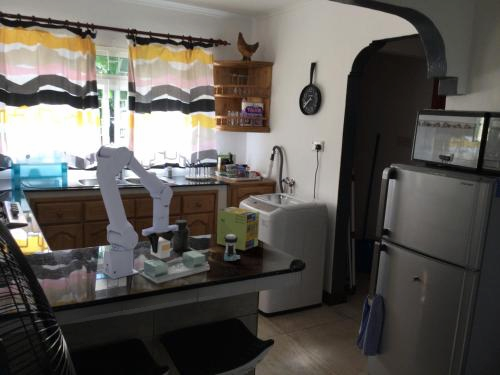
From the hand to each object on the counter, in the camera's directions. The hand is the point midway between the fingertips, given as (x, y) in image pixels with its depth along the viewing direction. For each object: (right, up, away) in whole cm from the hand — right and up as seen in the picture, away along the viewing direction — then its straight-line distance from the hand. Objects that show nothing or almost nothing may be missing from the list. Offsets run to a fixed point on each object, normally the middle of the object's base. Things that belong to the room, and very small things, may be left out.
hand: (160, 251), depth 158 cm
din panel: (+7, -6, -10) cm, 14 cm away
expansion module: (0, -2, 0) cm, 2 cm away
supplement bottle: (+5, -2, +17) cm, 18 cm away
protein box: (+28, -1, +27) cm, 39 cm away
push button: (+27, -4, +6) cm, 28 cm away
